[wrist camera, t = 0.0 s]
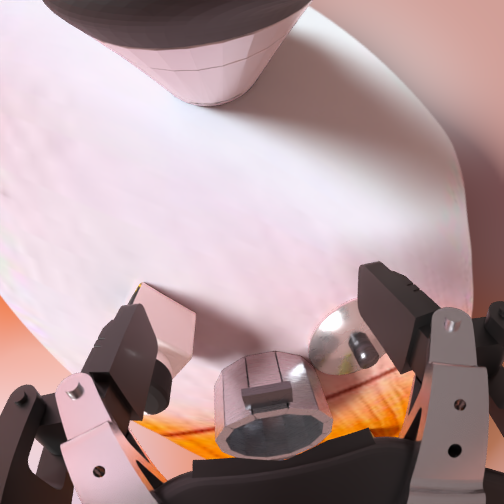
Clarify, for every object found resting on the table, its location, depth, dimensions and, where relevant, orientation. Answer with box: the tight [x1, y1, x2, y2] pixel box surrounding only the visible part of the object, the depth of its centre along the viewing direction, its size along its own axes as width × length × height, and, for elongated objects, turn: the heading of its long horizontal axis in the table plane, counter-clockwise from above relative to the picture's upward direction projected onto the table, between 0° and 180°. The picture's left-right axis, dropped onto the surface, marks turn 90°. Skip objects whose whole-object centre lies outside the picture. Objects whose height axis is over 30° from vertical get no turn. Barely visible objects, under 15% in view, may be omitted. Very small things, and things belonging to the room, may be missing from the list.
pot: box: [214, 351, 333, 460], centre depth 32 cm, size 19×14×9 cm
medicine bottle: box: [128, 282, 196, 415], centre depth 24 cm, size 7×7×12 cm
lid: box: [308, 298, 386, 375], centre depth 33 cm, size 14×14×5 cm
